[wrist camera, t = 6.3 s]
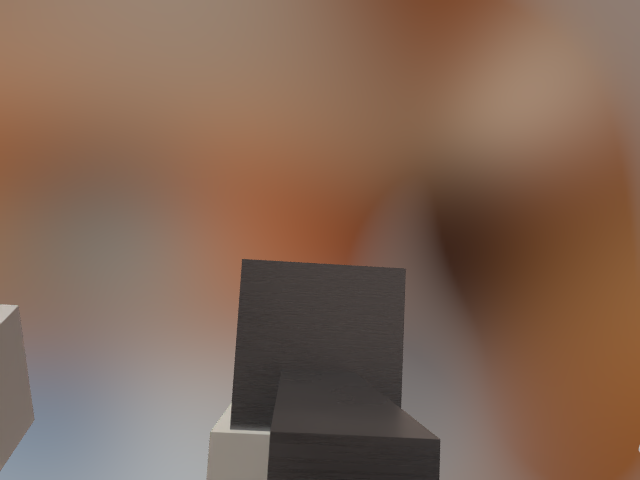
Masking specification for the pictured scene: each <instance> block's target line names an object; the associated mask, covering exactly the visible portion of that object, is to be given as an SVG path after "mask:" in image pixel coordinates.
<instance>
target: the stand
mask: <svg viewBox="0 0 640 480" xmlns="http://www.w3.org/2000/svg"><path fill="white" fill-rule="evenodd" d="M231 406H232V403H231V404H230V406H229V407H228V409H227V410H226V411H225V412H224V414H223V415H222V417H221V418H220V419H219V421H218V422H217V424H216V425H215V426H214V427H213V429H212V430H211V432H210V441H209V442H210V443H209V454H208V467H207V480H267V472H268V456H269V441H270V431H250V430H230V420H231Z"/></svg>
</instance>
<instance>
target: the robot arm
mask: <svg viewBox="0 0 640 480" xmlns="http://www.w3.org/2000/svg"><path fill="white" fill-rule="evenodd" d="M33 421H34V413H33V406H32V399H31V391H30V385H29V377H28V371H27V363H26V356H25V349H24V341H23V335H22V327H21V320H20V313H19V306H17V305H1V304H0V471H1V469H2V468H3V466H4V465H5V463H6V462H7V460H8V459H9V457H10V456H11V454H12V453H13V451H14V450H15V448H16V447H17V445H18V444H19V442H20V441H21V439H22V438H23V436H24V435H25V433H26V432H27V430H28V428H29V427H30V426H31V424H32V423H33ZM639 451H640V447H639Z"/></svg>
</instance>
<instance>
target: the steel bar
mask: <svg viewBox="0 0 640 480" xmlns="http://www.w3.org/2000/svg"><path fill="white" fill-rule="evenodd" d="M405 273H406V269H402V268H384V267H368V266H350V265H333V264H317V263H300V262H283V261H266V260H248V259H242V270H241V284H240V297H239V311H238V312H239V313H238V324H237V325H238V326H237V338H236V352H235V365H234V366H235V367H234V380H233V393H232V406H231V420H230V430H250V431H270V441H269V456H268V472H267V480H439V467H440V439H439V438H438V437H437V436H435V435H434V434H433V433H431V432H430V431H429V430H427V429H426V428H425V427H424V426H422V425H421V424H420V423H419V422H417V421H416V420H415V419H414V418H412V417H411V416H410V415H408V414H407V413H406V412H405V411H403V410H402V409H401V393H402V392H401V390H402V363H403V334H404V332H403V331H404V303H405Z"/></svg>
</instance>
